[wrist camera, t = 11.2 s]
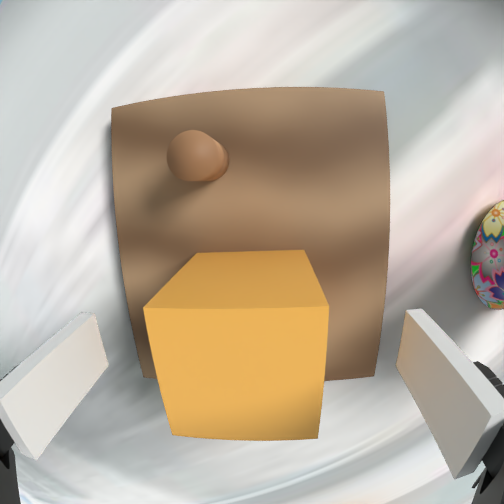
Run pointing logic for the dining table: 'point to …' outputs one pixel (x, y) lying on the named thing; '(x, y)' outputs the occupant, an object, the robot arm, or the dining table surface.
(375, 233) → the board
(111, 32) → the dining table surface
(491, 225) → the mug
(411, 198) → the dining table surface
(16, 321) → the dining table surface
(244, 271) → the mustard yellow box
